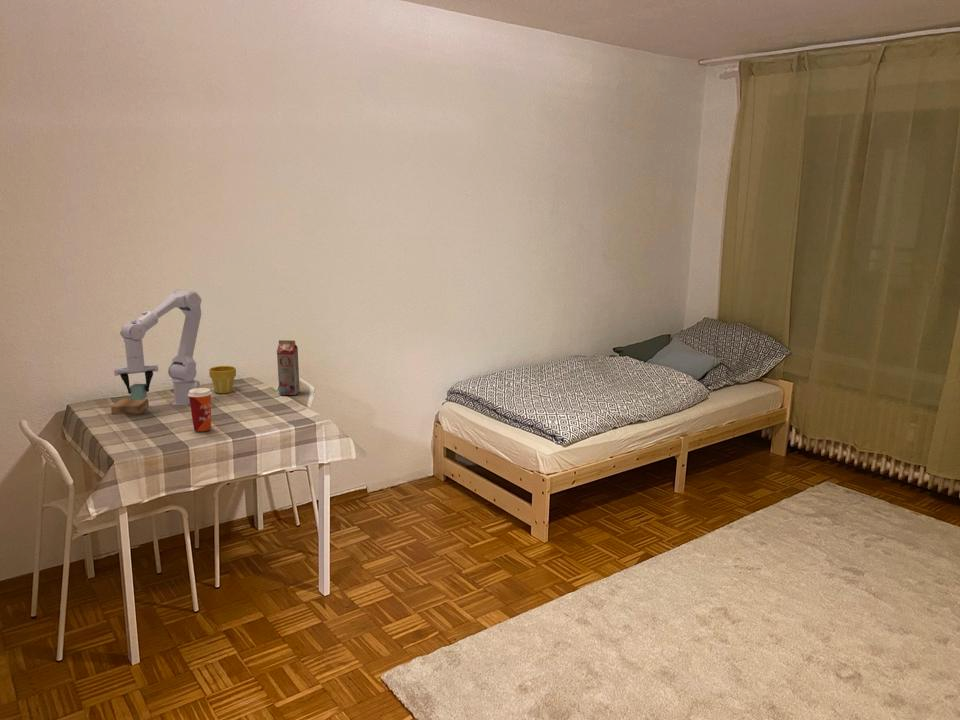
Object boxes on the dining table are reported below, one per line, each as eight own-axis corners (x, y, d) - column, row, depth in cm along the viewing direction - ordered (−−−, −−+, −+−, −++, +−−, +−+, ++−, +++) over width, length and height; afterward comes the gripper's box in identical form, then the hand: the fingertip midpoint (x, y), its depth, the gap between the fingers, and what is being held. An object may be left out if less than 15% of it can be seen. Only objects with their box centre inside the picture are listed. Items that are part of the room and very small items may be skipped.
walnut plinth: (148, 406, 279) (148, 398, 278) (140, 413, 269) (139, 406, 268) (121, 406, 278) (120, 399, 277) (111, 414, 268) (111, 406, 267)
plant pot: (240, 387, 306) (238, 365, 303) (233, 394, 295) (231, 371, 293) (215, 388, 305) (213, 365, 303) (207, 394, 295) (205, 371, 293)
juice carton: (295, 394, 296) (292, 342, 291) (279, 394, 296) (276, 341, 291) (299, 390, 303) (297, 338, 298) (283, 390, 303) (281, 338, 298)
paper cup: (207, 433, 249) (204, 393, 246) (186, 431, 250) (183, 392, 247) (218, 426, 256) (215, 387, 253) (198, 424, 258) (195, 386, 254)
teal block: (147, 396, 270) (145, 383, 268) (142, 399, 266) (141, 386, 264) (136, 396, 269) (134, 383, 268) (131, 399, 265) (130, 386, 264)
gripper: (155, 352, 271) (158, 387, 274) (112, 356, 264) (116, 392, 267) (157, 355, 265) (160, 391, 268) (113, 360, 258) (117, 396, 261)
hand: (138, 392), depth 267 cm, fingers closed on teal block, 5 cm apart
